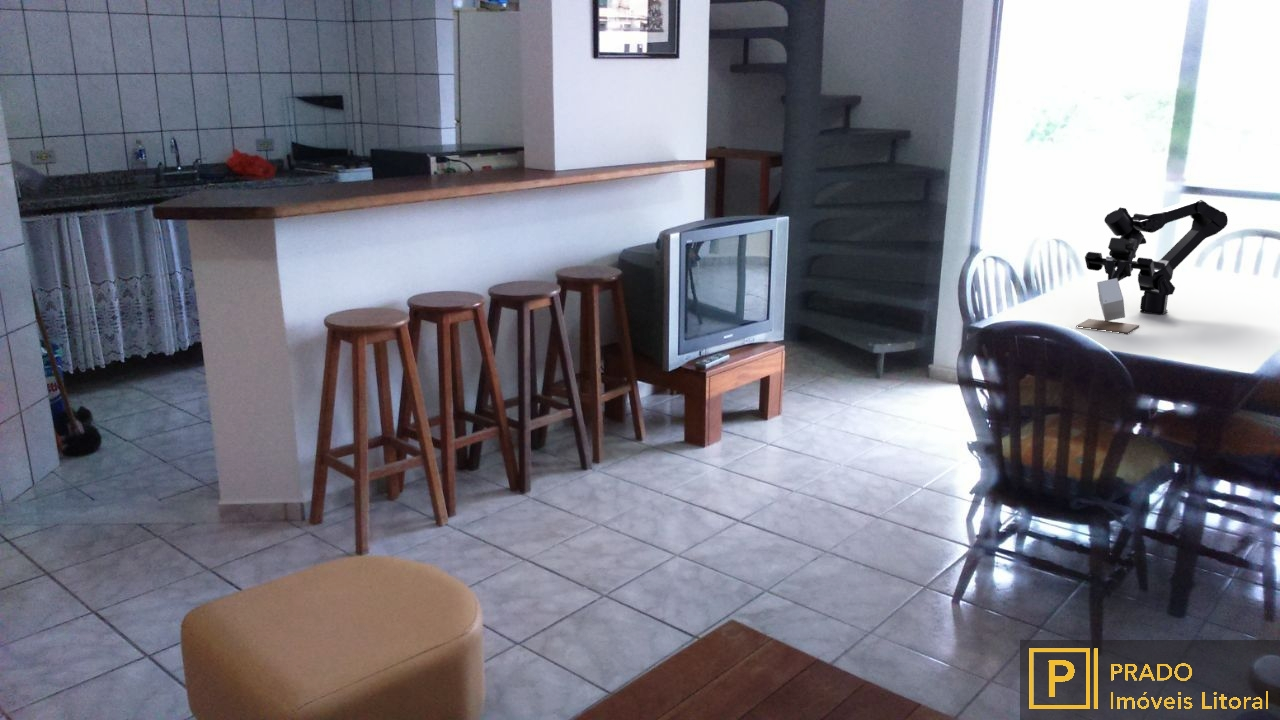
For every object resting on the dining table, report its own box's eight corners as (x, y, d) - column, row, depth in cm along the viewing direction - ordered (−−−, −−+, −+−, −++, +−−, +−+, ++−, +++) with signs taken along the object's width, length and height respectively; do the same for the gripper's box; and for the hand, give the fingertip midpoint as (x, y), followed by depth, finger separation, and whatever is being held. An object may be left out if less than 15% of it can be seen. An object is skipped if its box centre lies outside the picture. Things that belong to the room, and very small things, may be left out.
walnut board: (1139, 327, 289) (1139, 325, 289) (1127, 334, 280) (1127, 332, 280) (1088, 320, 297) (1089, 318, 297) (1076, 327, 289) (1076, 325, 288)
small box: (1125, 318, 293) (1124, 300, 285) (1104, 322, 295) (1103, 304, 287) (1119, 295, 297) (1117, 277, 289) (1098, 299, 299) (1096, 281, 291)
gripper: (1091, 224, 299) (1072, 263, 293) (1158, 231, 286) (1139, 272, 281) (1097, 249, 306) (1078, 287, 301) (1161, 256, 294) (1143, 296, 289)
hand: (1109, 285), depth 293 cm, fingers closed
